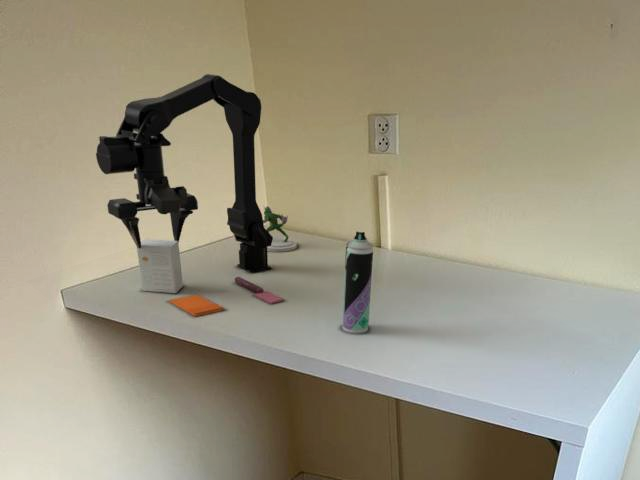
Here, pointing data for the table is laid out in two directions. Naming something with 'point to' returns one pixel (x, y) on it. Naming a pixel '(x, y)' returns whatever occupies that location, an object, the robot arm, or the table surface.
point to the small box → (160, 265)
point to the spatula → (259, 291)
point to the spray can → (357, 284)
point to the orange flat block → (196, 305)
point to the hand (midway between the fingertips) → (158, 245)
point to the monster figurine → (278, 242)
